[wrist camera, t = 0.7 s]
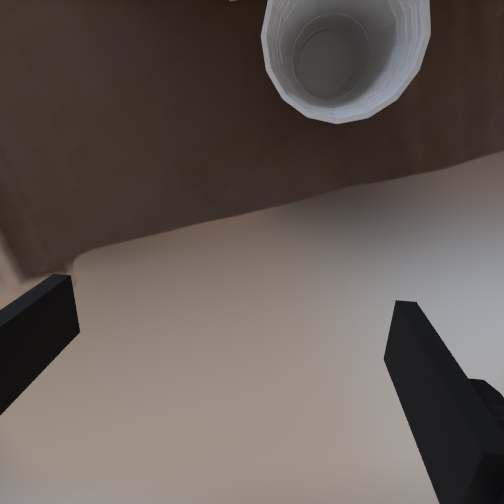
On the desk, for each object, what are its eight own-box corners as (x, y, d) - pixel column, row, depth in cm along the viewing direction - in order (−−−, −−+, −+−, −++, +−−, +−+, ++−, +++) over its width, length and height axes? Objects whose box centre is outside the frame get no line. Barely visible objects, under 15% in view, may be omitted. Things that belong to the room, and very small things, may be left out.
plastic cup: (393, -9, 32) (451, -76, 20) (377, 121, 35) (418, 124, 24) (271, -6, 32) (261, -70, 21) (268, 120, 36) (259, 123, 25)
